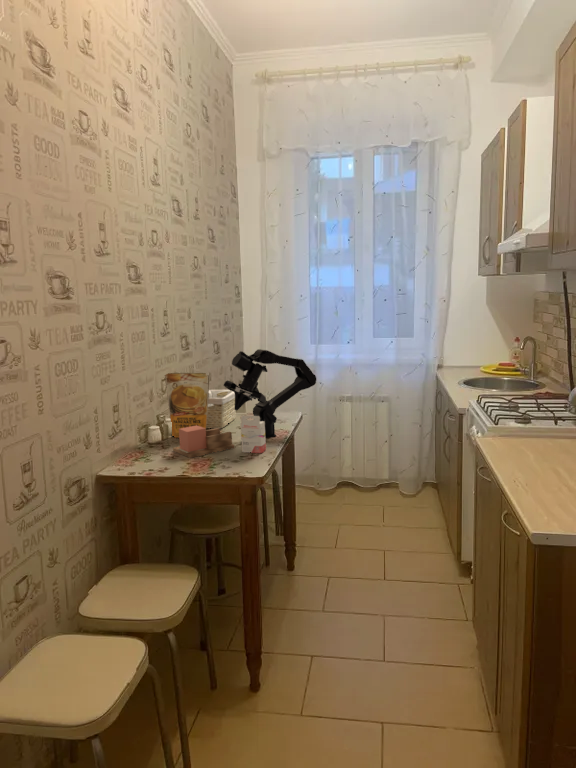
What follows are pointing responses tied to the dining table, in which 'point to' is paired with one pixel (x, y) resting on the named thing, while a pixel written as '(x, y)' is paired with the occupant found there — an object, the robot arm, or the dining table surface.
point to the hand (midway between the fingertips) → (235, 410)
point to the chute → (211, 443)
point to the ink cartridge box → (253, 434)
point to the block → (192, 438)
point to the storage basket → (220, 408)
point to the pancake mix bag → (187, 400)
